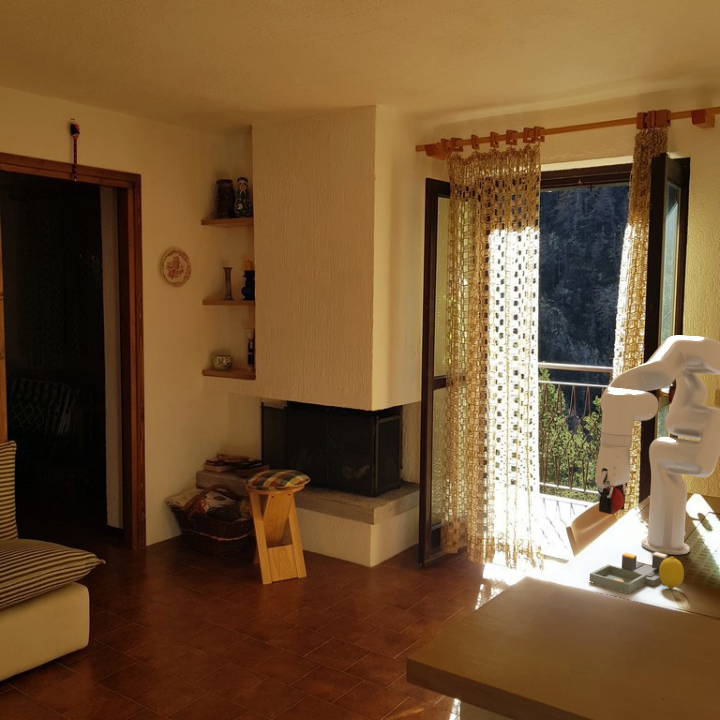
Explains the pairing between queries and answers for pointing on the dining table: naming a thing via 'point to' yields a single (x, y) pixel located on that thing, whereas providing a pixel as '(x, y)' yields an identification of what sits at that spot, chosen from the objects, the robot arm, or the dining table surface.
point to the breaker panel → (648, 573)
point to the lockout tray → (618, 578)
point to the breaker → (658, 559)
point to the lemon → (671, 572)
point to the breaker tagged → (629, 561)
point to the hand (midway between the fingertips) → (611, 509)
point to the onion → (616, 500)
